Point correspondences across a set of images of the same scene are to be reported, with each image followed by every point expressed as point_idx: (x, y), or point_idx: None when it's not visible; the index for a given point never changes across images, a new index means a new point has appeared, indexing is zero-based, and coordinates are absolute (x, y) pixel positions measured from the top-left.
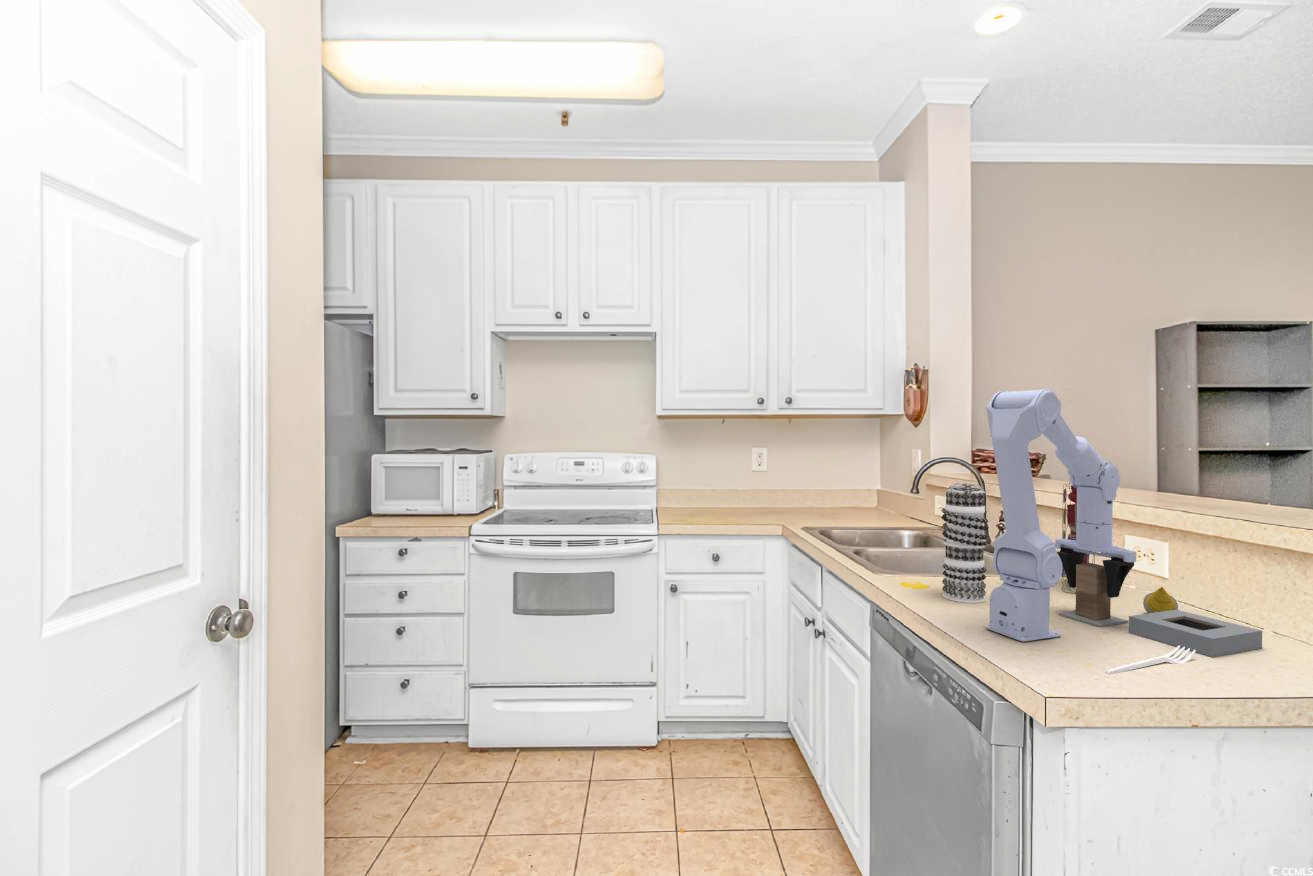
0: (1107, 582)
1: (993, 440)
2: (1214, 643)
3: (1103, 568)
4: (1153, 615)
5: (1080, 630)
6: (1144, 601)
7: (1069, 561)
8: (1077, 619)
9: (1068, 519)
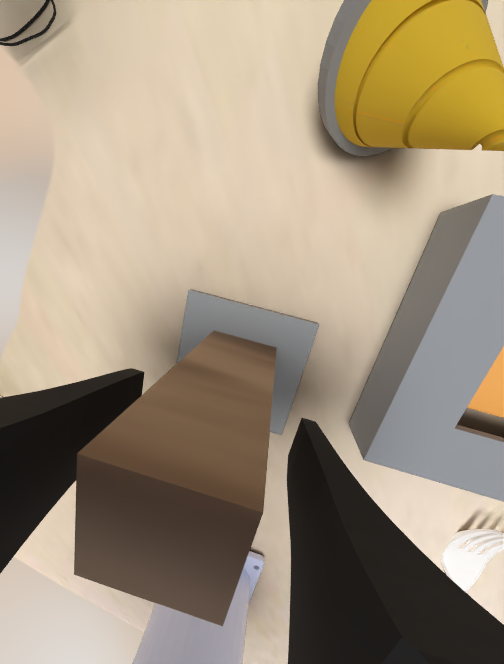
0: (293, 535)
1: None
2: None
3: (240, 574)
4: (425, 390)
5: (266, 485)
6: (329, 103)
7: (3, 552)
8: None
9: None
